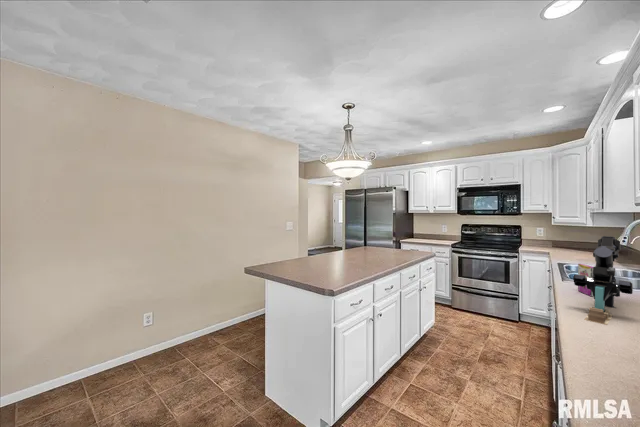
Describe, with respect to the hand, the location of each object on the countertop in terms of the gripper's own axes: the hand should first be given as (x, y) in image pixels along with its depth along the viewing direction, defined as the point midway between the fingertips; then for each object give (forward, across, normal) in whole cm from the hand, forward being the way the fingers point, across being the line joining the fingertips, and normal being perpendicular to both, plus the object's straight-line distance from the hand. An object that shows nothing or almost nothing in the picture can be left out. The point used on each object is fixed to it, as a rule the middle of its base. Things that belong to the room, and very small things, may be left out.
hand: (599, 299), depth 125 cm
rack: (+7, 0, +6) cm, 9 cm away
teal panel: (+3, 0, +5) cm, 6 cm away
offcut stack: (+9, 0, +1) cm, 9 cm away
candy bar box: (-27, -10, +40) cm, 49 cm away
